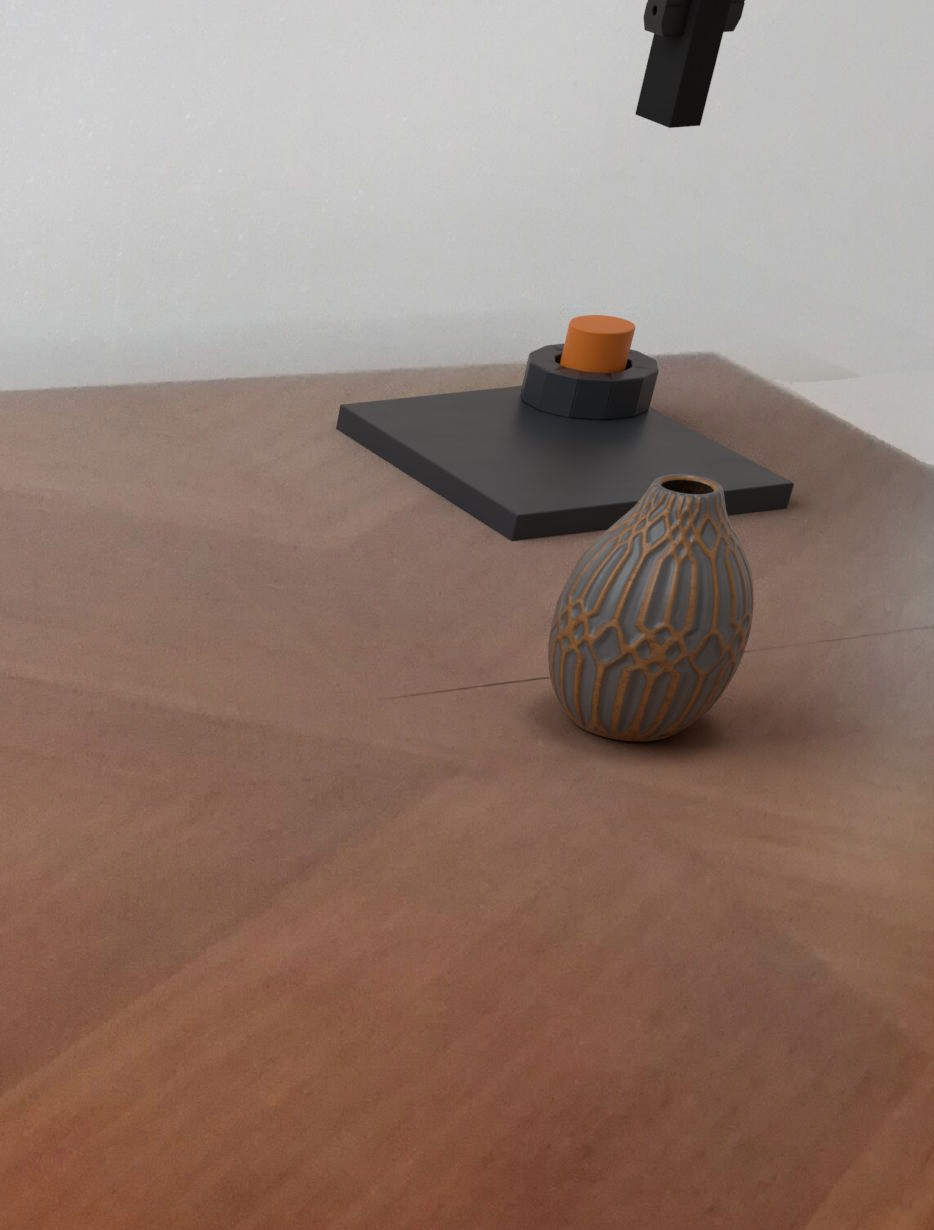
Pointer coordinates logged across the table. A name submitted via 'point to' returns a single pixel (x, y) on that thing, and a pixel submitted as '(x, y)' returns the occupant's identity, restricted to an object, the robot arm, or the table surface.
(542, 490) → the scale
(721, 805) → the table surface
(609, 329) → the button
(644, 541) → the vase
